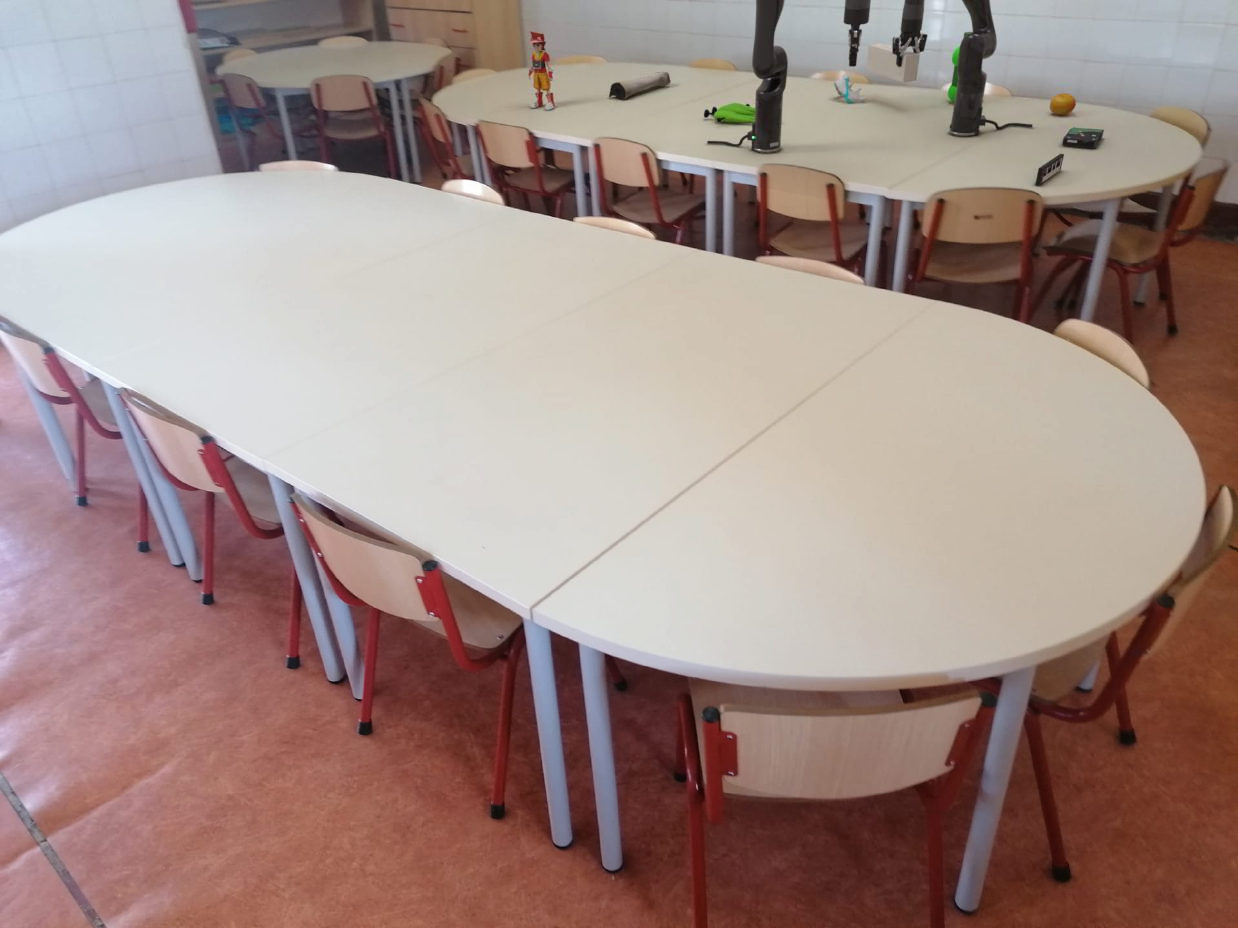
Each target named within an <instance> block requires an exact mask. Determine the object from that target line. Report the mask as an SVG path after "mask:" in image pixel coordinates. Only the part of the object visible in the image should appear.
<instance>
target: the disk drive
mask: <svg viewBox="0 0 1238 928" xmlns="http://www.w3.org/2000/svg"><path fill="white" fill-rule="evenodd" d="M1104 131H1105V130H1104V129H1101V128H1100V129H1098V128H1088V127H1087V128H1085V127H1071V128H1070V129H1069V130H1068V132H1067V133H1066V134H1065V136H1064V137H1063V139H1062V146H1065V147H1066V146H1067V147H1073V148H1074V147H1075V148H1085V149H1095V148H1096V147H1097V146H1098V144H1099V142H1100V141H1101V140H1102V138H1103V136H1104Z"/></svg>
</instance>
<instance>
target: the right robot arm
mask: <svg viewBox="0 0 1238 928" xmlns="http://www.w3.org/2000/svg"><path fill="white" fill-rule="evenodd" d="M925 1H926V0H904V4H903V8H902V14H901V23H900V34H899V36H896V37H895V36H893V37H892V45H891V46H892V53H893V54H895V55H897V59H896V65H897V66H898V67H901V66H902V58H903V56H902V55H903V53H904V51H905V50H907V49H908V48H910V47H911V48H912V49H911V50H912V52H914V53H918V54H920V53H921V52H922V53H923V52H925V49H926V44H927V40H928V34H926V33H921V31H922V29H923V22H924V14H925ZM961 1H962V3H963V5H964V7H965V8H966V10H967V12H968V14H969V16H970V17H969V18H970V21H971V29H972V31H971V32H972V33H969V34H967V35H966V36H965V37H964V36H963V38H962V39H961V41H960V45H959V46H960V49H959V56H958V66H957V74H958V83H957V90H956V96H955V103H953V110H952V115H951V123H950V125H949V134H950V135H952V136H956V137H973V136H979V131H980V127H985V126H986V123H987V124H991V125H994V127H995V129H996V130H998V131H999V130H1003V129H1004V128H1007V127H1024V128H1033V124H1031V123H1021V122H1008V123H1005V124H1003V125H1001V126H999V124H998V123H997V122H996V121H994V120H992V119H987V118H986V116H985V114H984V115H983V109H984V107H983V102H984V96H985V90H986V83H987V79H988V74H987V72H986V71H983V61H984V60H987V59H988V58H991V57H992V56H993V55H994V54H995V51H996V50H997V45H998V39H997V33H996V32H997V31H996V27H995V23H994V20H993V15H992V9H991V0H961Z"/></svg>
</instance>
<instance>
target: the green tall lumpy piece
mask: <svg viewBox="0 0 1238 928" xmlns="http://www.w3.org/2000/svg"><path fill="white" fill-rule="evenodd" d="M972 32H973V31H965V32H964V33H963V38H964V37H965V36H966V35H967V34H969V33H972ZM959 49H960V45H959V46H957V47H956V48H955V49H954V51H953V52H952V57H951V61H952V65H953V71H952V80H951V84H950V86H949V88H948V90H947V97H948V99H949V100H950V101H951V103H953V104H954V103H955V96H956V90H957V83H958V74H957V66H958V56H959Z"/></svg>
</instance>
